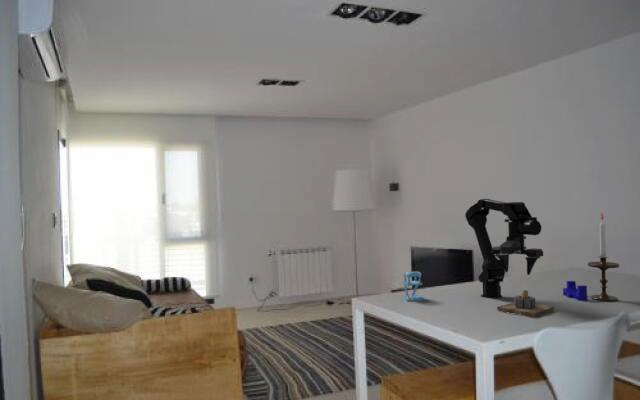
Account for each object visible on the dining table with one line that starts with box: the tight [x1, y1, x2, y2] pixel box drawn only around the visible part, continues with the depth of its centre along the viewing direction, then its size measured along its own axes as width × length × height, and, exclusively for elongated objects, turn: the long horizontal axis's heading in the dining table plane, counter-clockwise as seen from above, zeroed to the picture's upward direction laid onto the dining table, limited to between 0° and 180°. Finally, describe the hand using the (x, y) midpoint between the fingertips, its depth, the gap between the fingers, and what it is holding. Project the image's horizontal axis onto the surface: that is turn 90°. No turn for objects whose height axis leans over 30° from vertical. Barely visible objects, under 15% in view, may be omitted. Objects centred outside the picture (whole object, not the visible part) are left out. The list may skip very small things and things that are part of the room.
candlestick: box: [587, 212, 620, 303], centre depth 192 cm, size 11×11×35 cm
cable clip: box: [562, 280, 588, 302], centre depth 197 cm, size 12×4×6 cm, turn 174°
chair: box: [402, 271, 426, 302], centre depth 203 cm, size 8×8×12 cm
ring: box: [513, 295, 536, 309], centre depth 177 cm, size 7×7×4 cm
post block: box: [496, 289, 554, 318], centre depth 177 cm, size 14×14×8 cm
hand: (517, 273), depth 188 cm, fingers open, 9 cm apart
